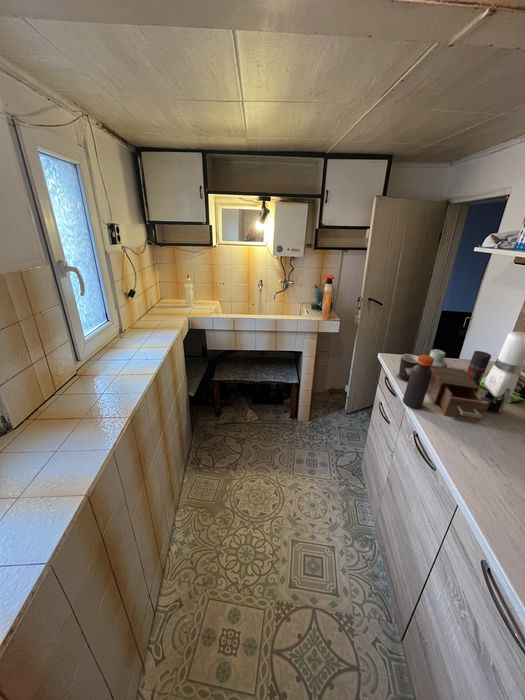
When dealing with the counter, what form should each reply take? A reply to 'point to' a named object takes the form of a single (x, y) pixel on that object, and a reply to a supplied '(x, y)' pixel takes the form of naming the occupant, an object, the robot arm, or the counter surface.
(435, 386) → the cabinet
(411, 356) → the coffee mug
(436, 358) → the air freshener
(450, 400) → the drawer
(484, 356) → the deodorant
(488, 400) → the striped block
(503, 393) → the robot arm
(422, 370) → the bottle
